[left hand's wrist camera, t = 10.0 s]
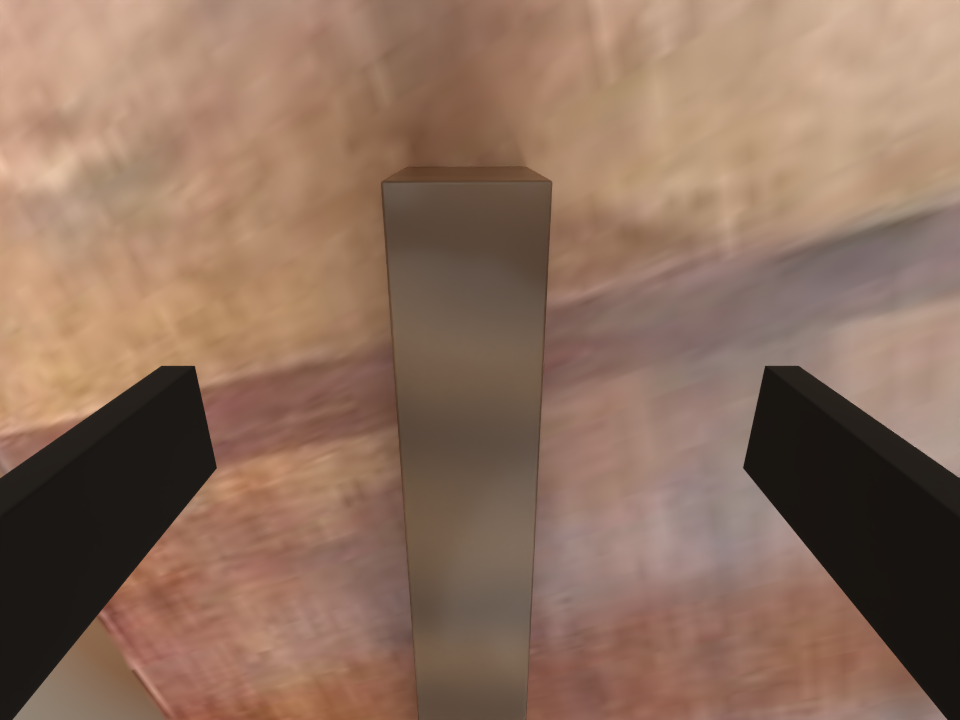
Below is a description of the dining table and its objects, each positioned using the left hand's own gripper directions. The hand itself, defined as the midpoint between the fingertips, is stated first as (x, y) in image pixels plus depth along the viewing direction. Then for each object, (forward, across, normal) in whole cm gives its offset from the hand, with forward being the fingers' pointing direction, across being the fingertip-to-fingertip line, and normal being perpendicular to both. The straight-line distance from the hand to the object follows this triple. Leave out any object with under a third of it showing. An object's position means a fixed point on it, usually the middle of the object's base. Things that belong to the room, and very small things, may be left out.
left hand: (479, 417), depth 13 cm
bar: (+16, 0, -31) cm, 34 cm away
